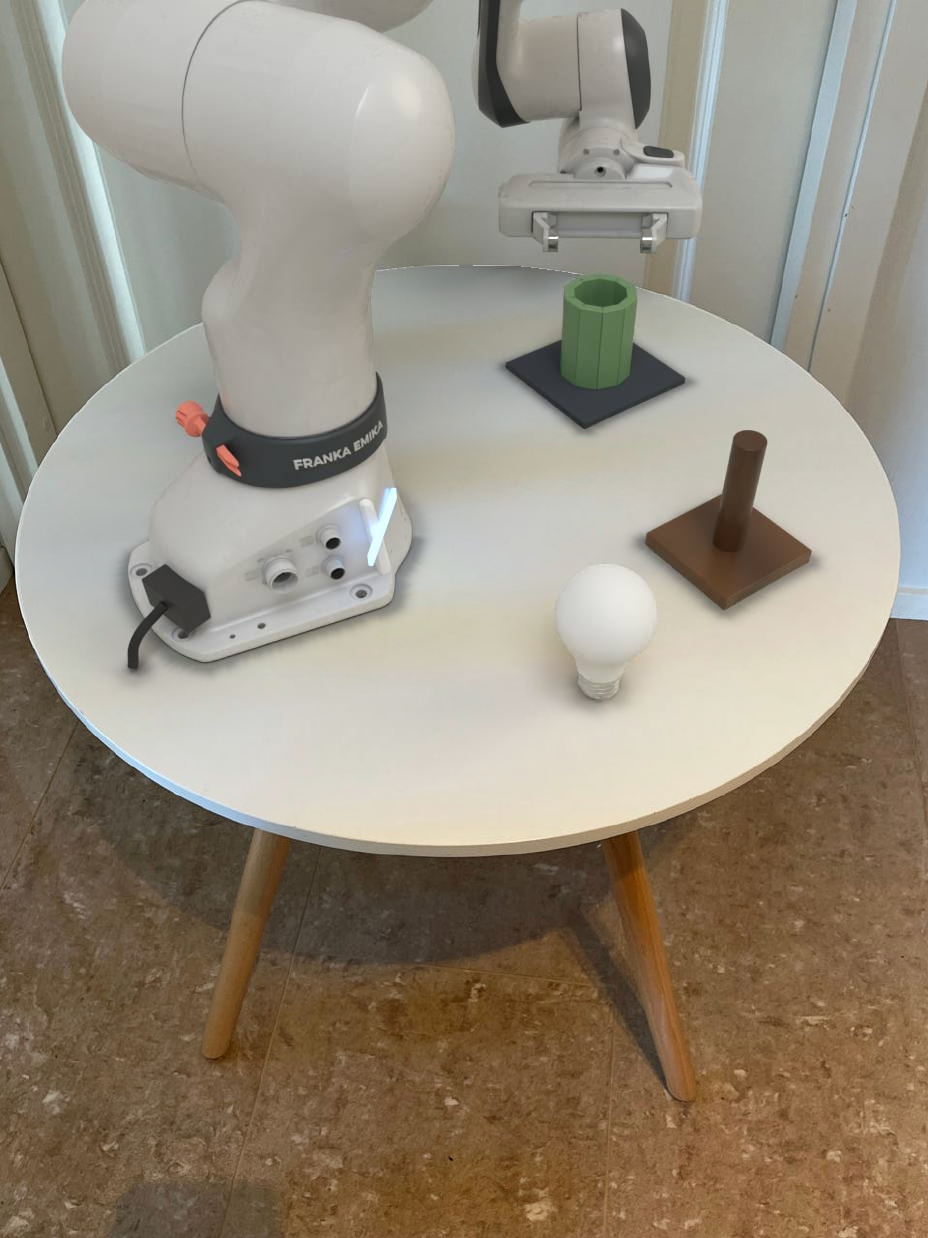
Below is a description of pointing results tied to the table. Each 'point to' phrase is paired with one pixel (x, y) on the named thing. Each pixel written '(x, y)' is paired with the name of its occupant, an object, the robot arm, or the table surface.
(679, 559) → the peg stand
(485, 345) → the table surface
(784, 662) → the table surface
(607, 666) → the light bulb
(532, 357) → the mat
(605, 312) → the green tube
